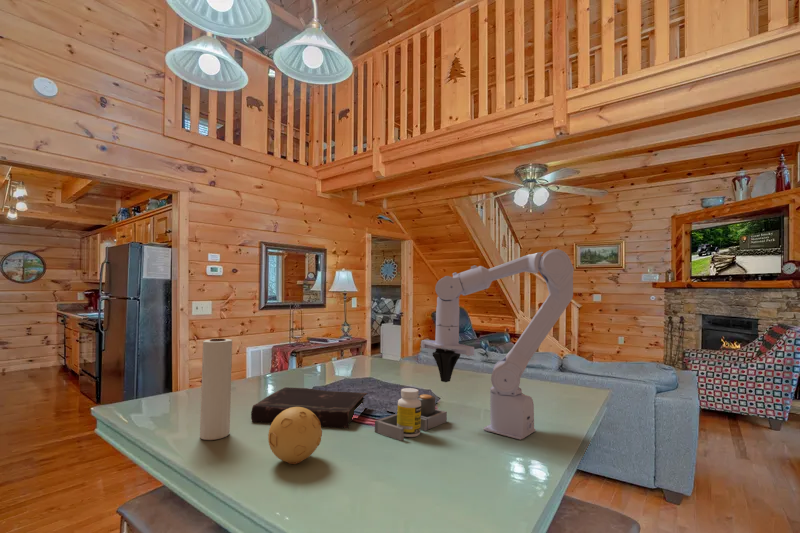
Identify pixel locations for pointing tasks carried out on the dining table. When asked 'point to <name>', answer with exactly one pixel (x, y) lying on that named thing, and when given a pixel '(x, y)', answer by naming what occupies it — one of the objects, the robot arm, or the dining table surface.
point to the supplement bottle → (409, 412)
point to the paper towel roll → (216, 389)
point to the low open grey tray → (428, 419)
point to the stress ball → (294, 434)
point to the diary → (310, 405)
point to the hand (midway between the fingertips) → (445, 381)
